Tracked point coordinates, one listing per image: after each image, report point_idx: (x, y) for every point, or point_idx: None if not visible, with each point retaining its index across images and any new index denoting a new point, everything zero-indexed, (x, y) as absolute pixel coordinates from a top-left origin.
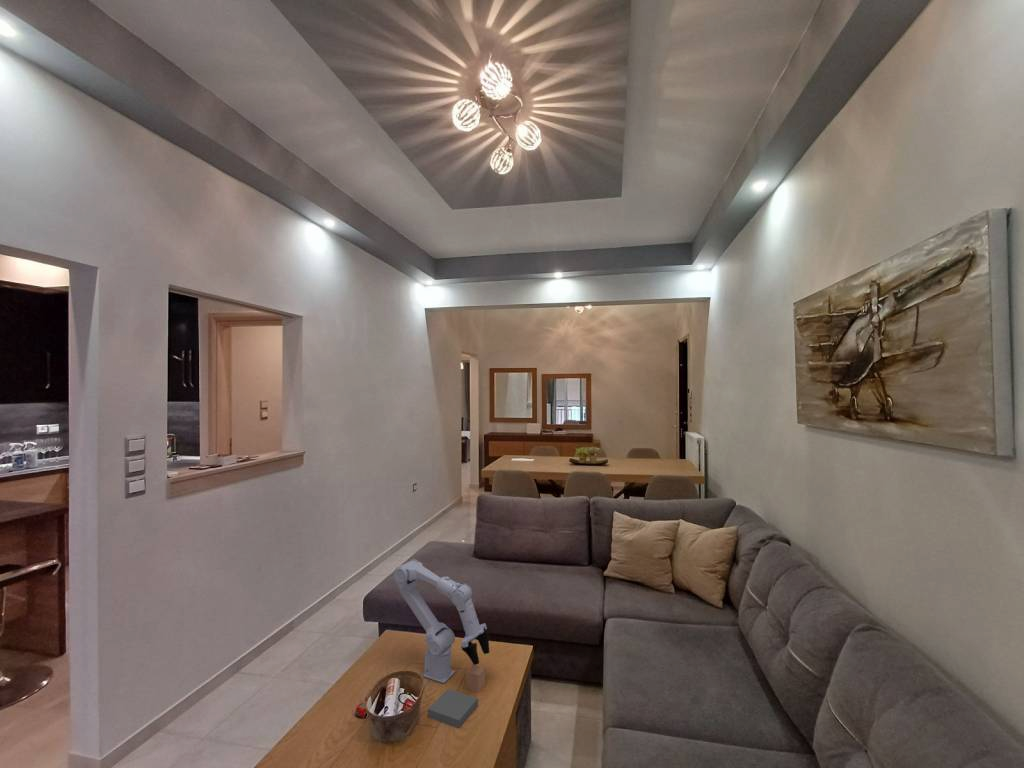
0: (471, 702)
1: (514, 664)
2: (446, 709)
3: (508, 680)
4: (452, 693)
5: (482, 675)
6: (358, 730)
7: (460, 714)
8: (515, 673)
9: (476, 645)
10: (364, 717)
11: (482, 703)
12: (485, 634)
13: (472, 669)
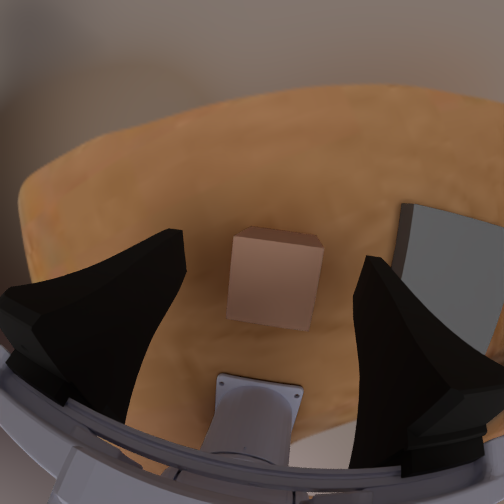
0: (444, 223)
1: (90, 167)
2: (486, 302)
3: (187, 138)
4: None
5: (274, 237)
6: (488, 434)
7: (500, 239)
8: (136, 134)
9: (440, 369)
10: None
11: (382, 189)
12: (62, 333)
13: (276, 306)
